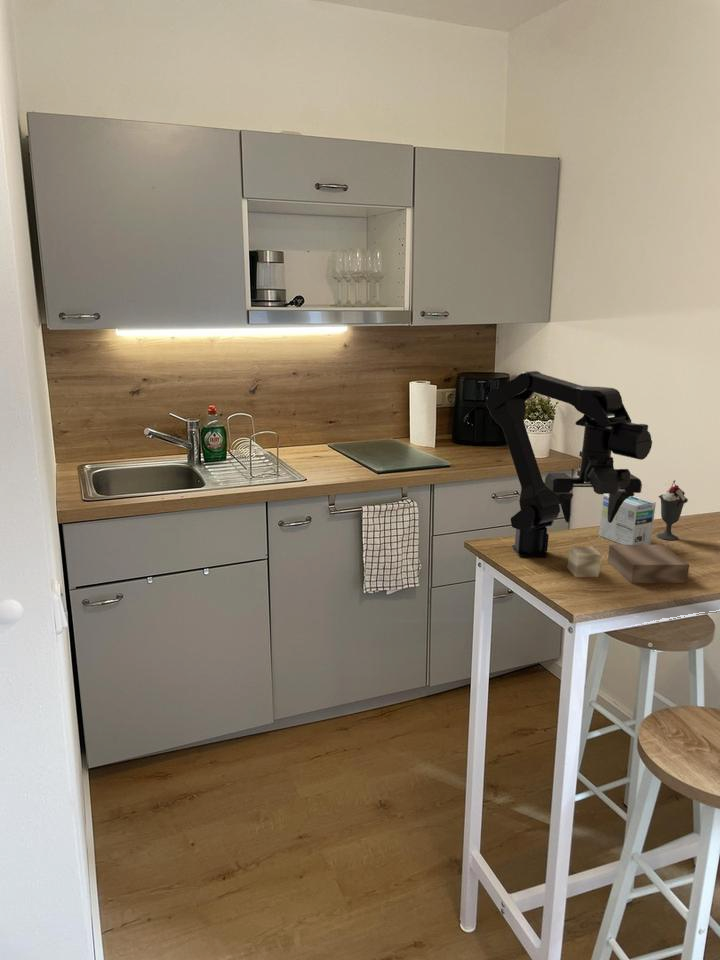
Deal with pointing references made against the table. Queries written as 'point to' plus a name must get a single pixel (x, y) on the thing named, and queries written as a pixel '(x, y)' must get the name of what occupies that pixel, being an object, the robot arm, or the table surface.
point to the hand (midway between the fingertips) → (588, 522)
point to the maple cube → (584, 561)
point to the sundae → (671, 510)
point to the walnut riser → (648, 564)
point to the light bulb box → (628, 521)
